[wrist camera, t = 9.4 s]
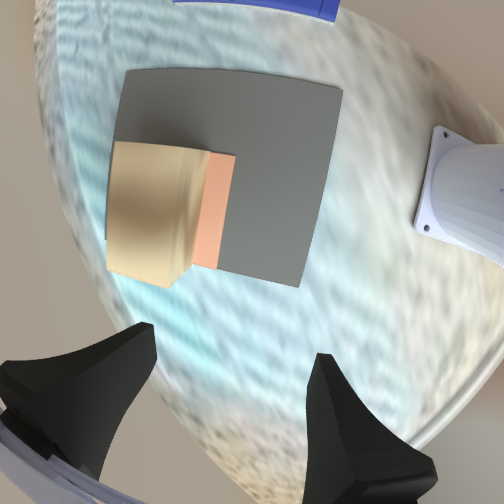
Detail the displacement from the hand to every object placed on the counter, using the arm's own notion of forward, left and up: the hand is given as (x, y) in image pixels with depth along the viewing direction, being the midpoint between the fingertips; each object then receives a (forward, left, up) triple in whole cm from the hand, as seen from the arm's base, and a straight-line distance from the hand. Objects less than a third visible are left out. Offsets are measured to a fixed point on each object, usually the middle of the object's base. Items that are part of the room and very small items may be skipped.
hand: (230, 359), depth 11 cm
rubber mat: (+5, -7, -9) cm, 13 cm away
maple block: (+7, -4, -9) cm, 12 cm away
